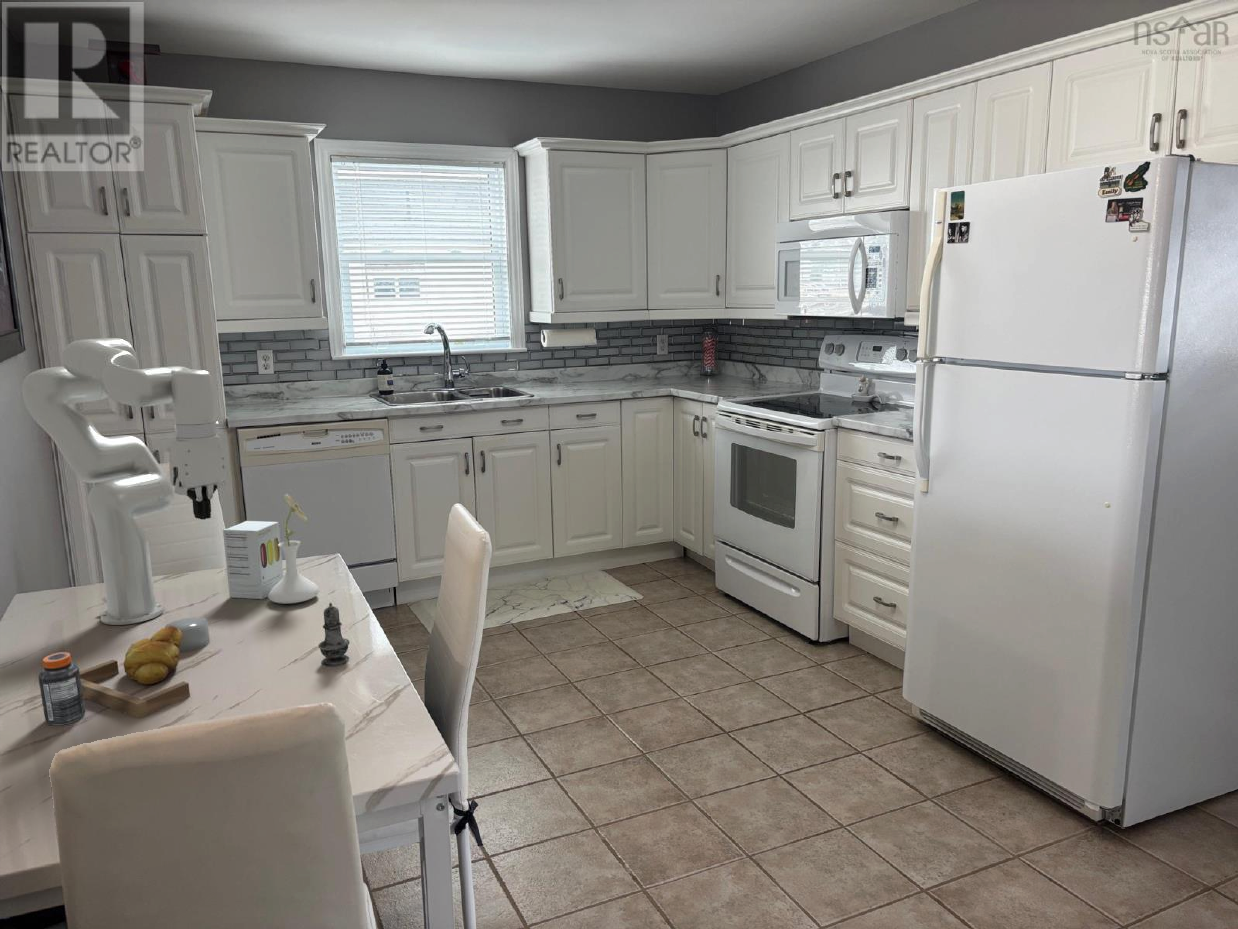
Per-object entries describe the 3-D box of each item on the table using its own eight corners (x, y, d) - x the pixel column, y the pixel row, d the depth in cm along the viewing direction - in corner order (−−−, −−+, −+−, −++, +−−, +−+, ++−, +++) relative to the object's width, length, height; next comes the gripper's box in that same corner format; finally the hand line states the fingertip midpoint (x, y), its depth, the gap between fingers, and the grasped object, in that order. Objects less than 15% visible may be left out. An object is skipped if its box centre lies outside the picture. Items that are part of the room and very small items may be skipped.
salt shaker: (357, 656, 177) (352, 599, 174) (338, 668, 171) (333, 609, 169) (332, 653, 179) (327, 596, 176) (313, 665, 173) (307, 606, 171)
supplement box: (263, 600, 211) (256, 531, 208) (228, 598, 213) (221, 529, 210) (285, 587, 220) (279, 521, 217) (252, 585, 222) (245, 519, 219)
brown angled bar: (63, 691, 164) (61, 678, 163) (114, 671, 172) (112, 659, 171) (139, 718, 152) (138, 704, 152) (190, 696, 161) (188, 683, 160)
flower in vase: (316, 605, 207) (307, 500, 202) (264, 610, 204) (254, 503, 200) (323, 588, 219) (314, 488, 214) (274, 592, 217) (264, 491, 212)
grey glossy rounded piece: (158, 648, 183) (156, 627, 182) (194, 635, 190) (191, 615, 189) (183, 655, 179) (180, 634, 179) (218, 641, 186) (215, 621, 185)
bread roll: (170, 686, 165) (165, 645, 163) (113, 692, 163) (107, 651, 161) (188, 659, 177) (183, 621, 176) (134, 664, 175) (129, 626, 174)
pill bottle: (57, 711, 156) (47, 650, 153) (92, 709, 156) (83, 648, 154) (38, 727, 150) (28, 664, 148) (74, 725, 150) (65, 662, 148)
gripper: (217, 424, 190) (223, 507, 194) (149, 434, 177) (157, 523, 181) (239, 428, 186) (245, 513, 190) (172, 438, 174) (180, 529, 177)
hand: (202, 517), depth 186 cm, fingers closed
